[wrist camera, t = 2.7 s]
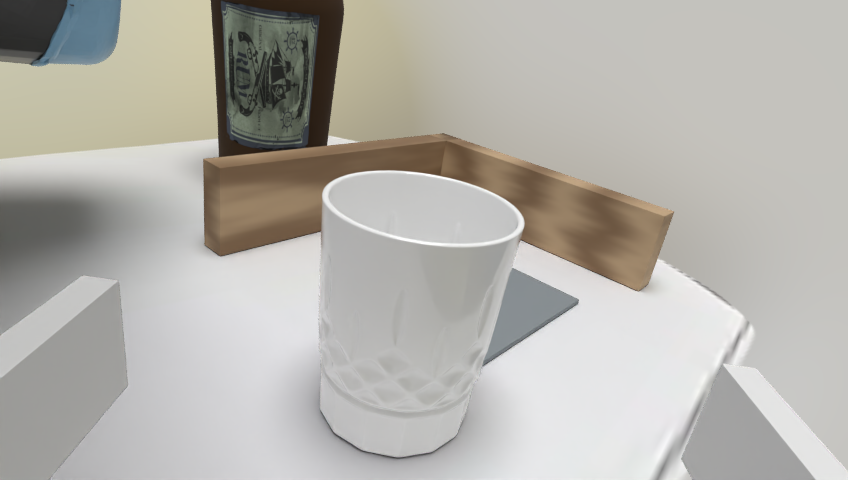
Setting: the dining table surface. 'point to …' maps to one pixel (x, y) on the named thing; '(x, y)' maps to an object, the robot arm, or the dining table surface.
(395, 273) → the white cup
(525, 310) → the slate mat
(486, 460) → the dining table surface
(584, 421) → the dining table surface
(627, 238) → the corner pen
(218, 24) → the brown bottle
